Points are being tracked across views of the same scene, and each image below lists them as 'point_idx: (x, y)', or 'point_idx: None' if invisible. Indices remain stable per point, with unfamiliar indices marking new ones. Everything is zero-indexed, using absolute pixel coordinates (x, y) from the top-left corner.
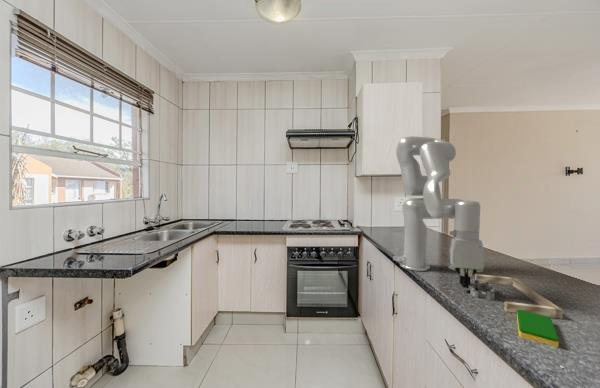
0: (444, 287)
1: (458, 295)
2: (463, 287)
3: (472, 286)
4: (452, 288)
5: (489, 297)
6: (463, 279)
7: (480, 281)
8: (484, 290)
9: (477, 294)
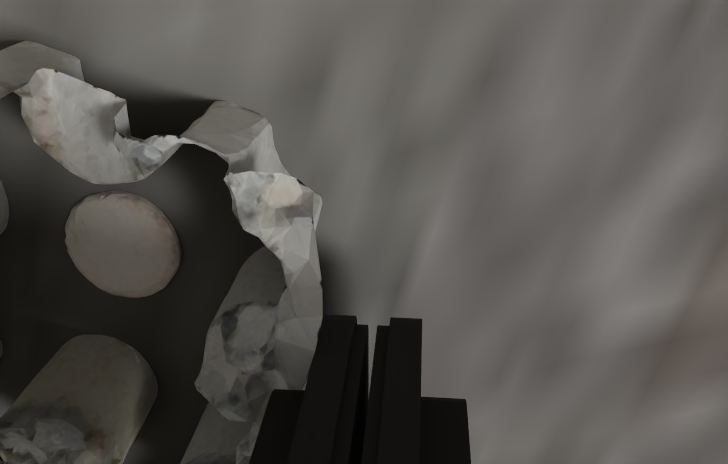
0: (687, 405)
1: (572, 88)
2: (419, 320)
3: (241, 345)
4: (553, 395)
5: (7, 54)
6: (419, 458)
7: None
8: (54, 364)
9: (208, 118)
